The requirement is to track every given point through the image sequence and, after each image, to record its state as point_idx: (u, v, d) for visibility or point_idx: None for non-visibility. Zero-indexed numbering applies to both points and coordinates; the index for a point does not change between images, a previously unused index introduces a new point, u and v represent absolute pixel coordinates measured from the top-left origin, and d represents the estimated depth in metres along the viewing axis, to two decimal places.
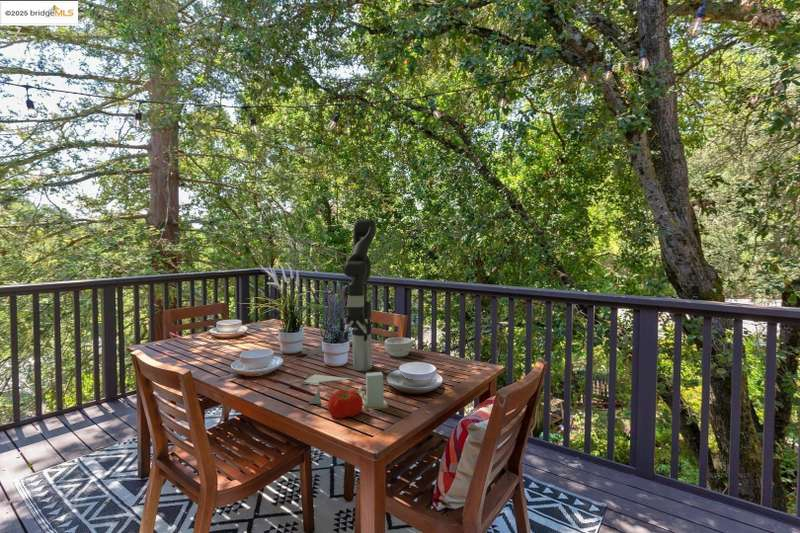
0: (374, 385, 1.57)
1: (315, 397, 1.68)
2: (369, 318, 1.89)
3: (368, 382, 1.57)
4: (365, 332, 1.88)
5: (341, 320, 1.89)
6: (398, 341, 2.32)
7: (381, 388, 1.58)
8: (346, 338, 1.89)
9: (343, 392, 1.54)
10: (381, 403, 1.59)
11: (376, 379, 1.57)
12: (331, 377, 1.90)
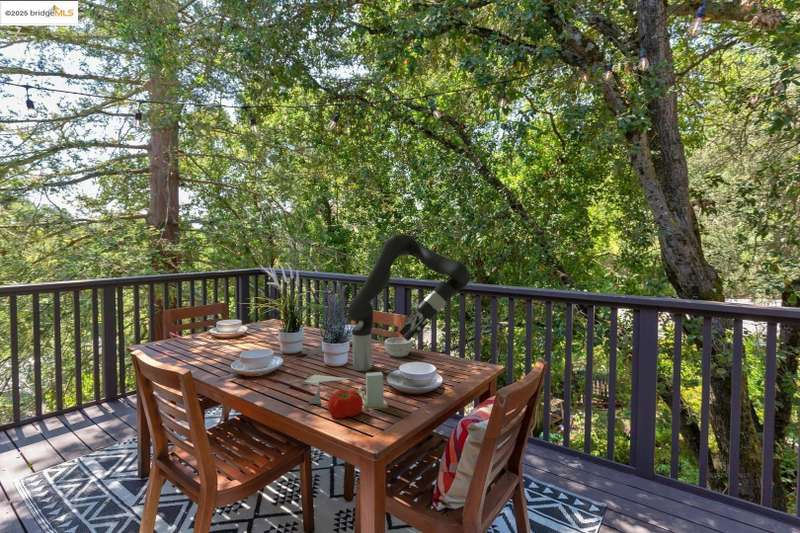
0: (374, 385, 1.57)
1: (315, 397, 1.68)
2: None
3: (368, 382, 1.57)
4: (410, 327, 1.65)
5: None
6: (398, 341, 2.32)
7: (381, 388, 1.58)
8: (410, 338, 1.56)
9: (343, 392, 1.54)
10: (381, 403, 1.59)
11: (376, 379, 1.57)
12: (331, 377, 1.90)
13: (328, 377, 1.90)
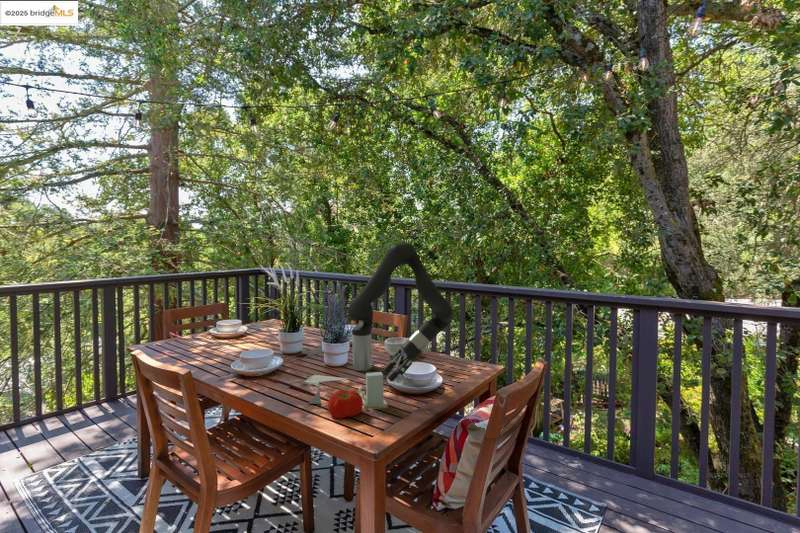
0: (374, 385, 1.57)
1: (315, 397, 1.68)
2: (402, 351, 1.67)
3: (368, 382, 1.57)
4: (394, 366, 1.65)
5: None
6: (398, 341, 2.32)
7: (381, 388, 1.58)
8: (393, 379, 1.56)
9: (343, 392, 1.54)
10: (381, 403, 1.59)
11: (376, 379, 1.57)
12: (331, 377, 1.90)
13: (328, 377, 1.90)
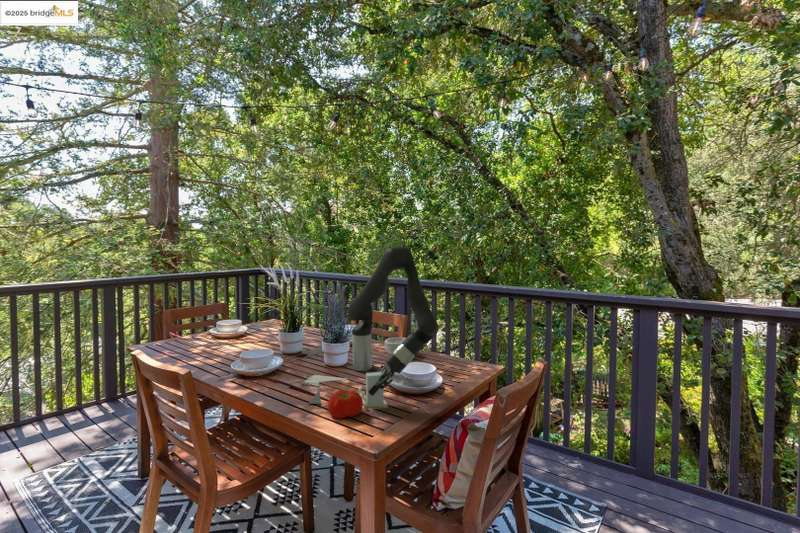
0: None
1: (315, 397, 1.68)
2: (384, 367, 1.66)
3: (368, 382, 1.57)
4: None
5: None
6: (398, 341, 2.32)
7: None
8: None
9: (343, 392, 1.54)
10: (381, 403, 1.59)
11: (376, 379, 1.57)
12: (331, 377, 1.90)
13: (328, 377, 1.90)
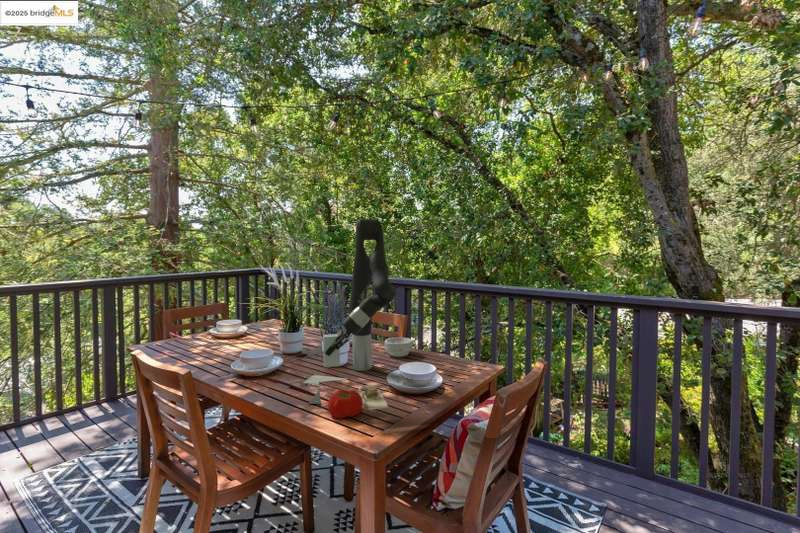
0: None
1: (315, 397, 1.68)
2: (342, 330, 1.72)
3: (324, 343, 1.62)
4: None
5: None
6: (398, 341, 2.32)
7: None
8: (330, 353, 1.63)
9: (343, 392, 1.54)
10: (337, 363, 1.65)
11: (332, 340, 1.63)
12: (331, 378, 1.89)
13: (328, 377, 1.90)
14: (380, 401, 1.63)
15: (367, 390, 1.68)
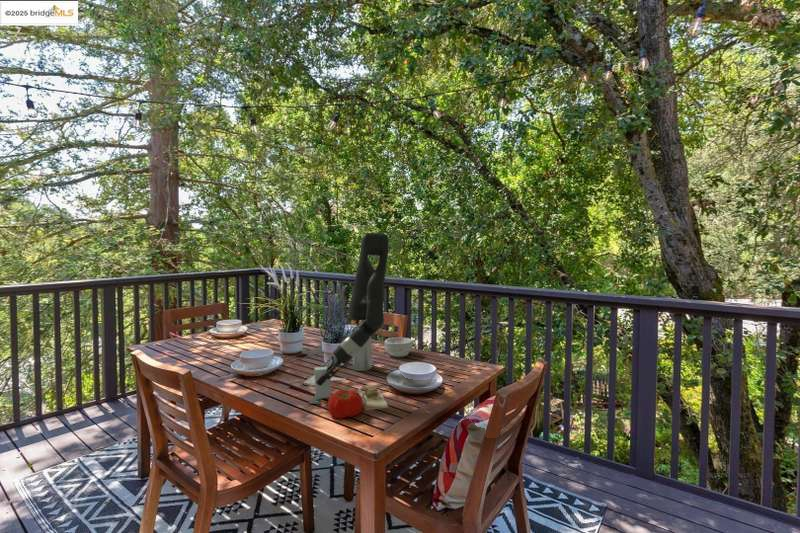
0: None
1: (315, 397, 1.68)
2: None
3: (316, 376, 1.65)
4: None
5: None
6: (398, 341, 2.32)
7: (328, 381, 1.67)
8: (322, 383, 1.65)
9: (343, 392, 1.54)
10: (329, 396, 1.67)
11: (323, 373, 1.66)
12: (331, 378, 1.89)
13: None
14: (380, 401, 1.63)
15: (367, 390, 1.68)
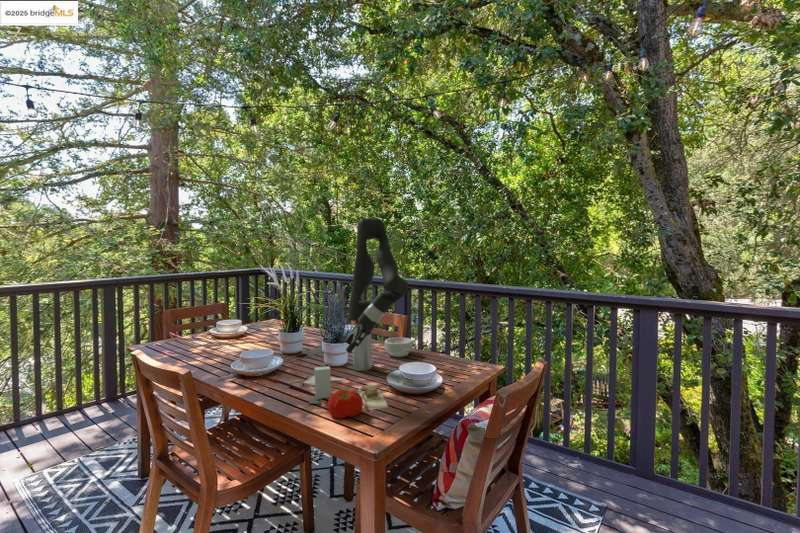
0: (322, 378, 1.66)
1: (315, 397, 1.68)
2: None
3: (316, 376, 1.65)
4: None
5: None
6: (398, 341, 2.32)
7: (328, 381, 1.67)
8: (351, 350, 1.67)
9: (343, 392, 1.54)
10: (329, 396, 1.67)
11: (323, 373, 1.66)
12: (331, 378, 1.89)
13: None
14: (380, 401, 1.63)
15: (367, 390, 1.68)
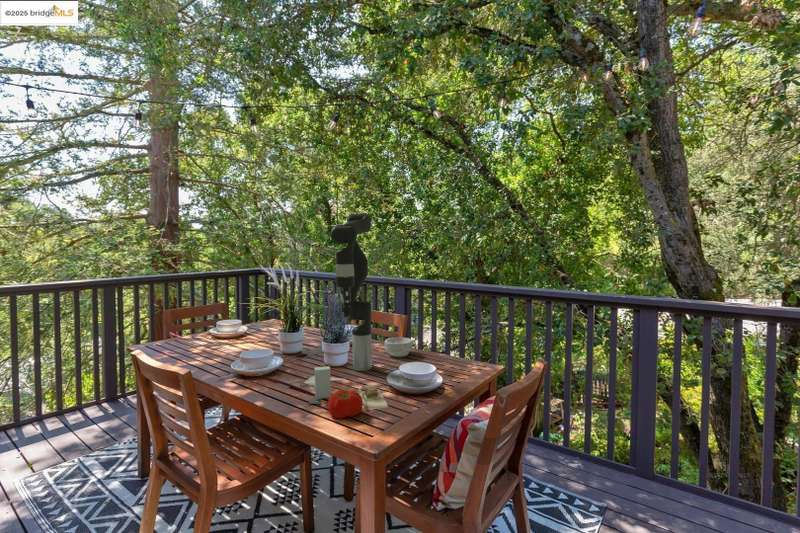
0: (322, 378, 1.66)
1: (315, 397, 1.68)
2: None
3: (316, 376, 1.65)
4: (347, 301, 1.77)
5: (349, 293, 1.66)
6: (398, 341, 2.32)
7: (328, 381, 1.67)
8: None
9: (343, 392, 1.54)
10: (329, 396, 1.67)
11: (323, 373, 1.66)
12: (331, 378, 1.89)
13: None
14: (380, 401, 1.63)
15: (367, 390, 1.68)
